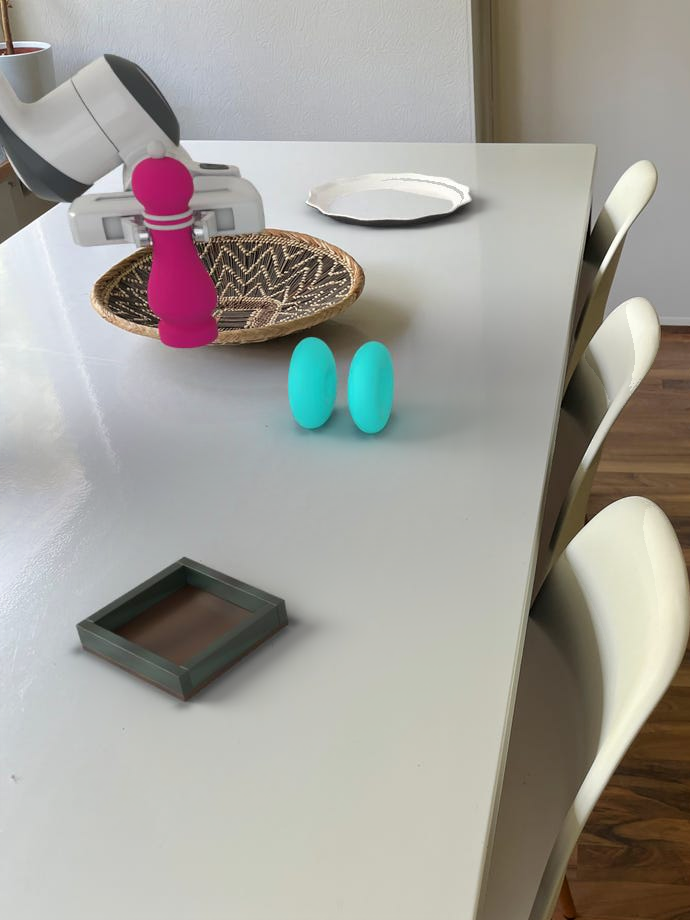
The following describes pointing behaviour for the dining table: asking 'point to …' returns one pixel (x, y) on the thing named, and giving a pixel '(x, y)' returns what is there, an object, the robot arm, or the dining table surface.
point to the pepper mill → (174, 252)
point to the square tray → (183, 627)
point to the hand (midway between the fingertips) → (172, 237)
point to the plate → (345, 186)
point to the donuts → (318, 385)
